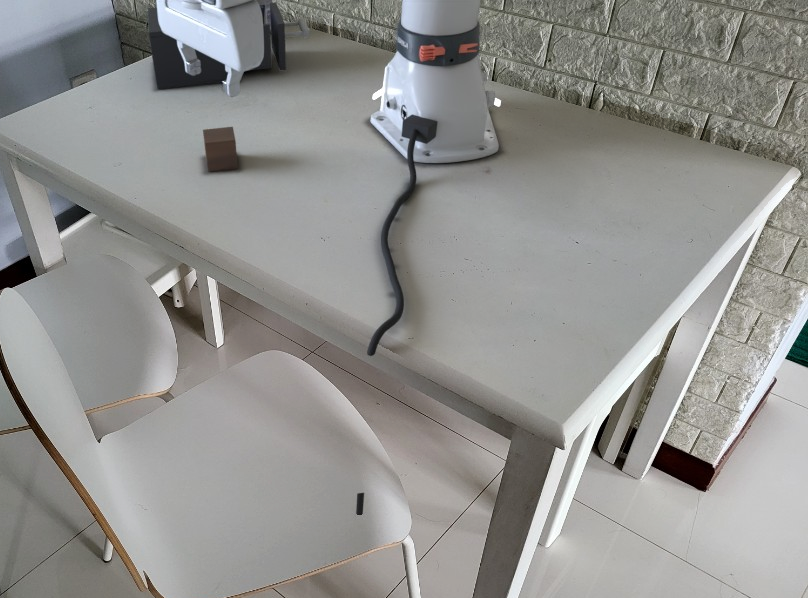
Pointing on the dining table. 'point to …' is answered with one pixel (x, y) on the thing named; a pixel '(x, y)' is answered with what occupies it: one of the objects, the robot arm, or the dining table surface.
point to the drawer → (278, 37)
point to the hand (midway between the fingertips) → (212, 83)
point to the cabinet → (178, 60)
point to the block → (220, 149)
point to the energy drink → (266, 10)
